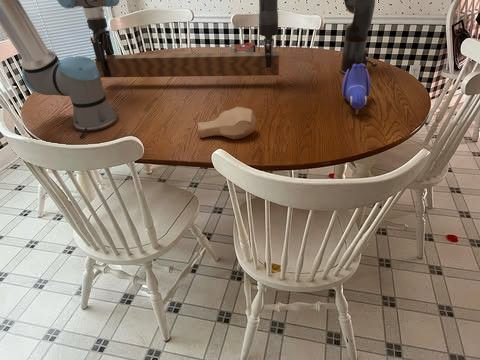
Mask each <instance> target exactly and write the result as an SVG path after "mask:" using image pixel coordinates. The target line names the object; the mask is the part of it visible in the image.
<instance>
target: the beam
mask: <svg viewBox="0 0 480 360" xmlns="http://www.w3.org/2000/svg"><path fill="white" fill-rule="evenodd" d="M267 55H270V53H267ZM271 56H272V57H271V67H270V68H266V59H265V52H264V51H255V52H243V53H231V52H201V53H200V52H199V53H196V52H195V53H153V54H151V53H150V54H144V53H143V54H113V55H106V54H105V59H106V61H107V63H108V67H109V71H110V75H111V76H110V77H109V78H169V77H170V78H175V77H177V78H178V77H181V78H183V77H249V76H250V77H253V76H254V77H259V76H263V77H264V76H265V77H267V76H279V74H280V51H273V52H272V53H271ZM94 62H95V64H96V66H97V69H98V71H99V74H100V78H103V79H104V78H105V77H104V74H103V70H102V66H101V62H97V59H96V57H95V58H94Z"/></svg>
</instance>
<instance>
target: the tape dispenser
mask: <svg viewBox="0 0 480 360" xmlns="http://www.w3.org/2000/svg"><path fill="white" fill-rule="evenodd" d="M243 52H256V43H255V42H254V41H252V42H243V43H239V44H238V43H237V44H231V45H230V53H243Z"/></svg>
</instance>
